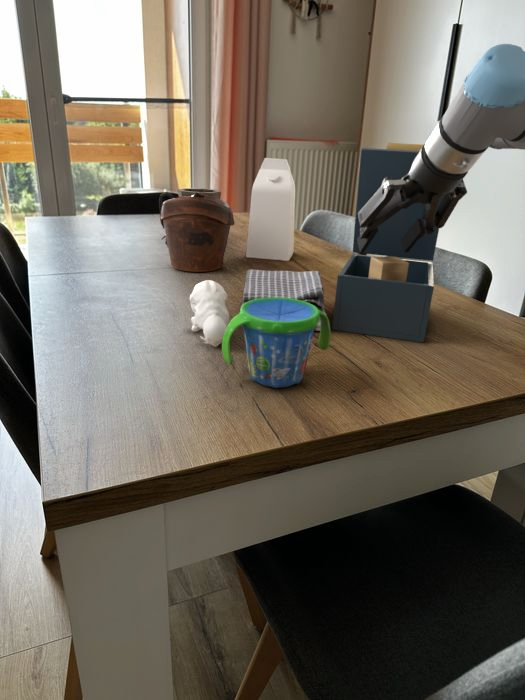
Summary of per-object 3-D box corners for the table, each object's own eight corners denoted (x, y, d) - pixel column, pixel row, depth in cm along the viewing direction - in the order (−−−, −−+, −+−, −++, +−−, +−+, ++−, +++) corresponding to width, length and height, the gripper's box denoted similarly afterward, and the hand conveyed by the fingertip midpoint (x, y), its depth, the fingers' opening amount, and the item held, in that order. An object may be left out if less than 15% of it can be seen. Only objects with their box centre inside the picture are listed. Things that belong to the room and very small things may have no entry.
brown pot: (209, 255, 143) (210, 188, 136) (247, 271, 128) (250, 197, 121) (148, 260, 133) (145, 189, 127) (181, 279, 118) (180, 198, 111)
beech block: (387, 313, 99) (395, 256, 95) (399, 321, 94) (409, 262, 90) (363, 313, 98) (370, 256, 93) (374, 322, 93) (383, 262, 89)
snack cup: (232, 401, 65) (234, 325, 61) (212, 367, 74) (212, 299, 70) (343, 388, 70) (351, 317, 66) (311, 358, 79) (317, 294, 75)
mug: (222, 236, 171) (223, 189, 165) (218, 244, 159) (218, 193, 153) (164, 233, 171) (162, 186, 166) (154, 240, 159) (153, 190, 153)
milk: (293, 252, 152) (300, 159, 142) (288, 260, 142) (295, 160, 132) (253, 249, 154) (257, 157, 144) (246, 257, 143) (249, 157, 134)
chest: (423, 342, 87) (434, 286, 84) (331, 329, 91) (337, 275, 88) (424, 310, 105) (432, 262, 101) (347, 300, 109) (352, 253, 105)
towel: (318, 303, 106) (321, 265, 103) (327, 334, 89) (331, 290, 86) (244, 299, 106) (246, 261, 103) (239, 330, 89) (240, 286, 86)
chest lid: (453, 154, 88) (454, 137, 95) (360, 149, 92) (368, 133, 99) (432, 260, 101) (434, 238, 108) (352, 252, 105) (359, 231, 112)
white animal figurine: (225, 276, 87) (239, 303, 77) (224, 322, 91) (236, 353, 81) (188, 276, 86) (197, 304, 76) (188, 323, 90) (196, 355, 80)
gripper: (386, 174, 70) (332, 264, 90) (517, 179, 75) (438, 263, 95) (374, 132, 73) (325, 228, 93) (502, 139, 78) (428, 229, 98)
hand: (382, 246), depth 94 cm, fingers open, 8 cm apart
